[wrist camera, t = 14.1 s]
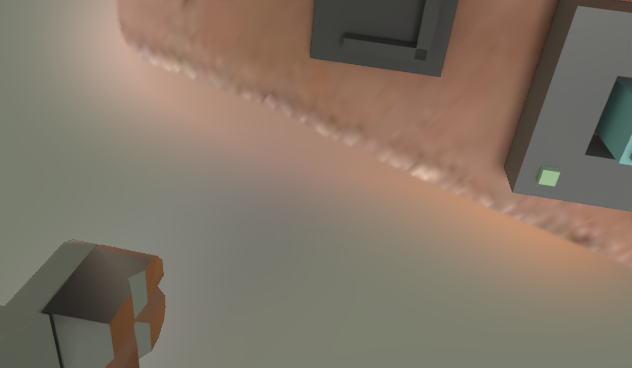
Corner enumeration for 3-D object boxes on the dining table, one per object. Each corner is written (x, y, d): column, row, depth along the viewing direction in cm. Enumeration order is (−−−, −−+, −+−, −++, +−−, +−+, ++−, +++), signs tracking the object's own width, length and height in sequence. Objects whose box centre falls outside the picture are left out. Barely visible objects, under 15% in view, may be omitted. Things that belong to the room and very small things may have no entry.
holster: (326, -89, 36) (321, -86, 34) (472, -70, 36) (477, -66, 34) (311, 53, 42) (306, 64, 39) (439, 72, 41) (441, 83, 39)
